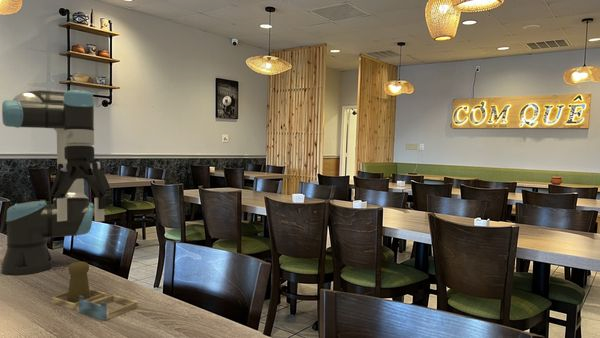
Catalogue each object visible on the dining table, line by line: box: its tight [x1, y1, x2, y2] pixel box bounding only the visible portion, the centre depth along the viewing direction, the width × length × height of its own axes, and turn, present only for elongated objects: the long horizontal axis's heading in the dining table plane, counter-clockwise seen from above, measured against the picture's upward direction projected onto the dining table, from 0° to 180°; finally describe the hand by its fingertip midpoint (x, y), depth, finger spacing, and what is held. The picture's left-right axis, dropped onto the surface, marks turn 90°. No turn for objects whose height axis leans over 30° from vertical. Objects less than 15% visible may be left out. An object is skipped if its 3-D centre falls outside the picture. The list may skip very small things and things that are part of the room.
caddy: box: [49, 288, 139, 321], centre depth 118 cm, size 23×11×4 cm, turn 63°
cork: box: [66, 261, 91, 303], centre depth 121 cm, size 6×6×11 cm
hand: (80, 221), depth 119 cm, fingers open, 13 cm apart
